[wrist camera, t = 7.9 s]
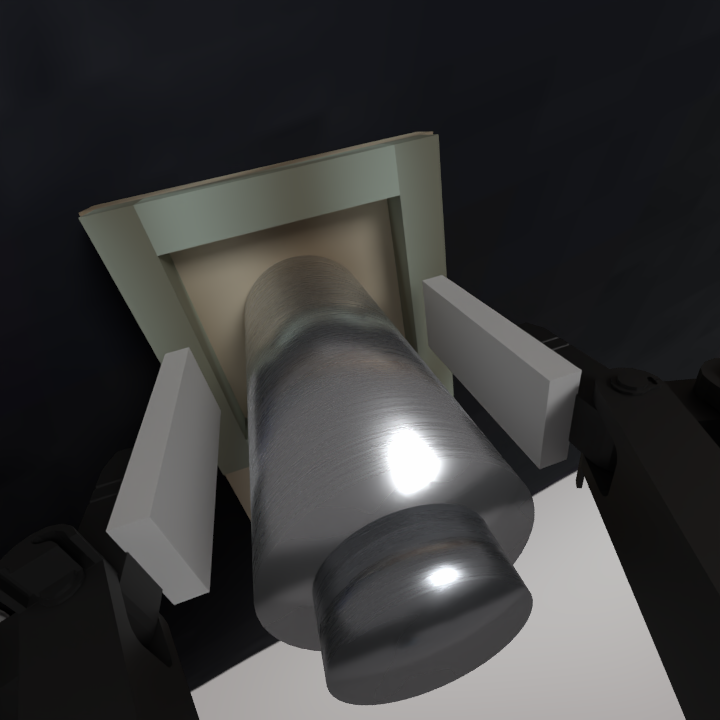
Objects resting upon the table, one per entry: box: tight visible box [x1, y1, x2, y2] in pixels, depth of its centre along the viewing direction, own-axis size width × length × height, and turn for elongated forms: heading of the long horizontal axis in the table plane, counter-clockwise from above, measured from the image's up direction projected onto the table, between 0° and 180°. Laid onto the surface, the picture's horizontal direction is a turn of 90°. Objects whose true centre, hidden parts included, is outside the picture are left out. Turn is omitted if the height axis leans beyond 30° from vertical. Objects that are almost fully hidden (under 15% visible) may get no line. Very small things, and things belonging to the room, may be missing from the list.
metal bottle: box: [244, 255, 534, 705], centre depth 11 cm, size 5×5×12 cm
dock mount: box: [79, 132, 454, 520], centre depth 17 cm, size 12×16×4 cm
